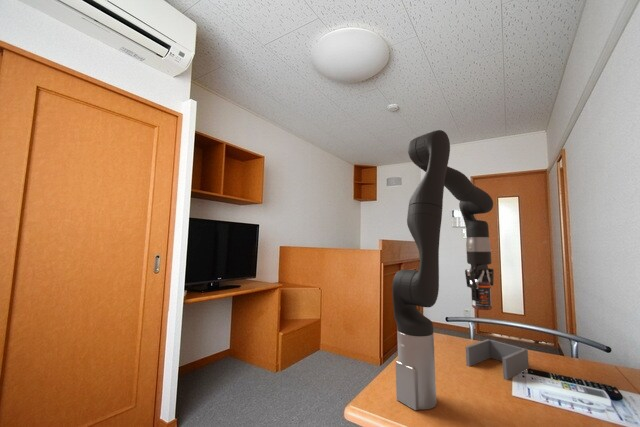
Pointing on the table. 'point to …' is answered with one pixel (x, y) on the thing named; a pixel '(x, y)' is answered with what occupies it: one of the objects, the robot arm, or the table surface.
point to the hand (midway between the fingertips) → (481, 299)
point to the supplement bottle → (483, 296)
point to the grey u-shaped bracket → (499, 356)
